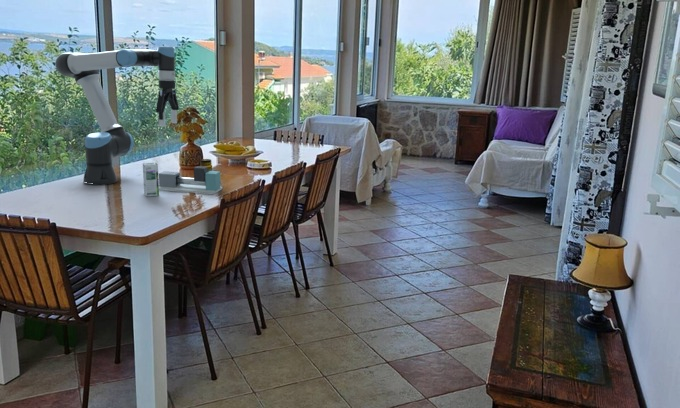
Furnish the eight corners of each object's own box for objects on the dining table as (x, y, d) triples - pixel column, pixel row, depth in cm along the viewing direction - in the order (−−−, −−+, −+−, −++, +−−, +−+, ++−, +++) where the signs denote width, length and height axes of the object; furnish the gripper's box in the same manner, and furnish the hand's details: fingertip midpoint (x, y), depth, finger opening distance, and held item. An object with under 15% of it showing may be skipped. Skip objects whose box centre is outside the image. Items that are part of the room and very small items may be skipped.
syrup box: (146, 196, 264) (144, 164, 261) (143, 193, 269) (142, 162, 266) (159, 195, 267) (158, 164, 263) (156, 192, 272) (155, 161, 268)
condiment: (215, 184, 294) (215, 160, 292) (198, 185, 290) (198, 161, 287) (209, 181, 300) (209, 158, 297) (193, 182, 296) (193, 159, 293)
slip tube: (169, 184, 280) (169, 166, 278) (173, 182, 284) (173, 164, 282) (214, 187, 277) (214, 169, 275) (217, 185, 282) (217, 167, 279)
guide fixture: (156, 189, 278) (155, 170, 276) (167, 184, 289) (166, 166, 287) (213, 194, 274) (213, 175, 272) (222, 188, 286) (222, 170, 283)
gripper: (163, 81, 267) (164, 128, 273) (185, 79, 291) (185, 122, 296) (147, 80, 268) (149, 127, 274) (170, 78, 292) (171, 121, 297)
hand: (168, 124), depth 285 cm, fingers open, 13 cm apart
